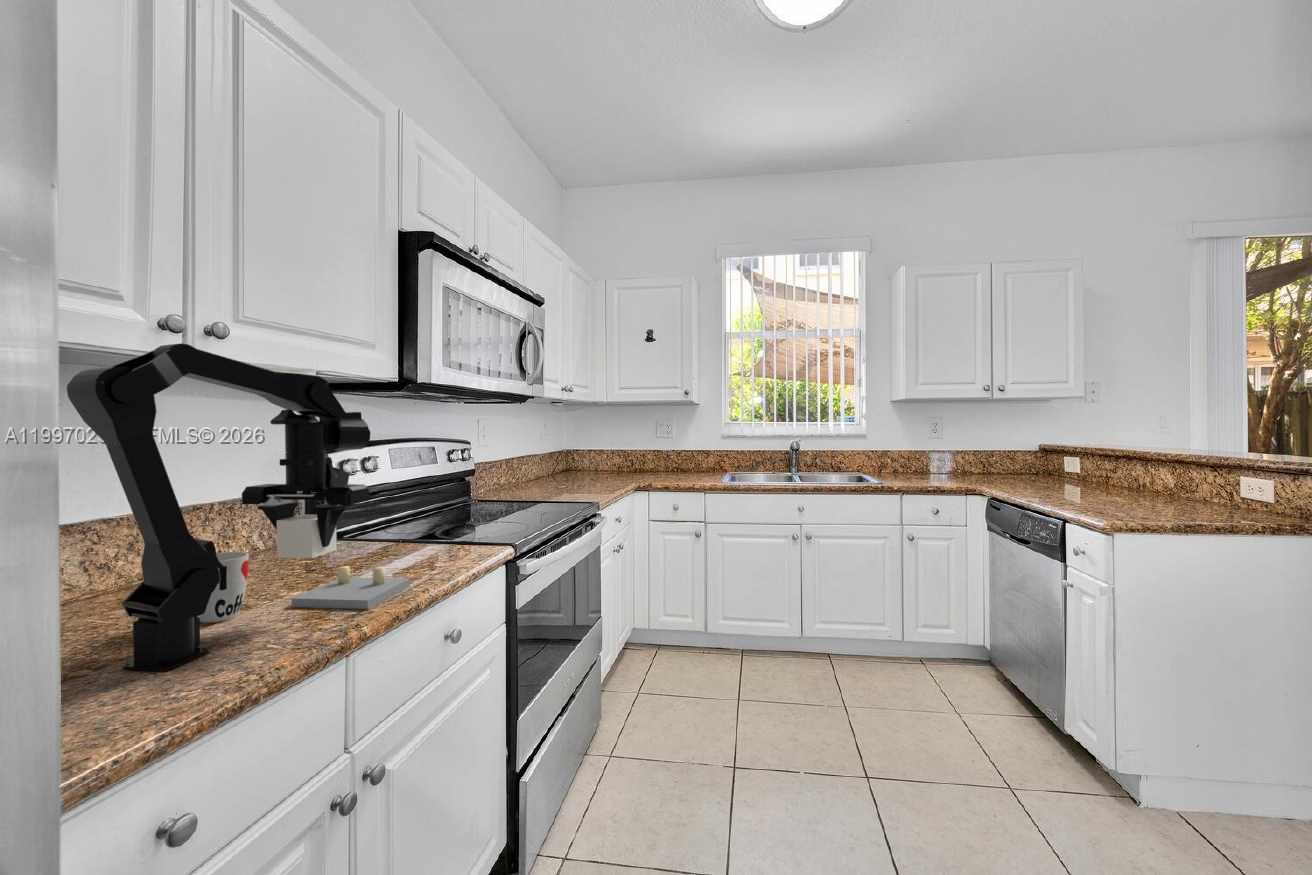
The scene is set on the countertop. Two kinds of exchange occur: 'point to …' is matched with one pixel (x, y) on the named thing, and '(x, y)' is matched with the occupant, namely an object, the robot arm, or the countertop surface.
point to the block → (301, 538)
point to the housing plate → (352, 591)
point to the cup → (228, 588)
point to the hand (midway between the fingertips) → (307, 546)
